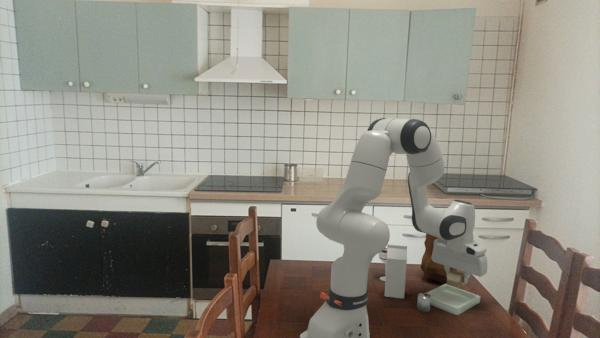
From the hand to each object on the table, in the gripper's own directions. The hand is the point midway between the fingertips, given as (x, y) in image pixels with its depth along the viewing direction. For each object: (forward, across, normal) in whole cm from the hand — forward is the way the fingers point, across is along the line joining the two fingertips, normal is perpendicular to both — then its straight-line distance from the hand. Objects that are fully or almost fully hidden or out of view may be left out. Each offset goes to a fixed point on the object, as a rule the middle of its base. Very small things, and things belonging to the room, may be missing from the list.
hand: (456, 280), depth 160 cm
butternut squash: (+8, -14, +11) cm, 19 cm away
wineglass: (+8, -28, -5) cm, 30 cm away
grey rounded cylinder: (+7, -3, -16) cm, 18 cm away
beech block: (+2, 0, -1) cm, 2 cm away
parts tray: (+8, 0, -3) cm, 8 cm away
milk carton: (+8, -17, -14) cm, 23 cm away
